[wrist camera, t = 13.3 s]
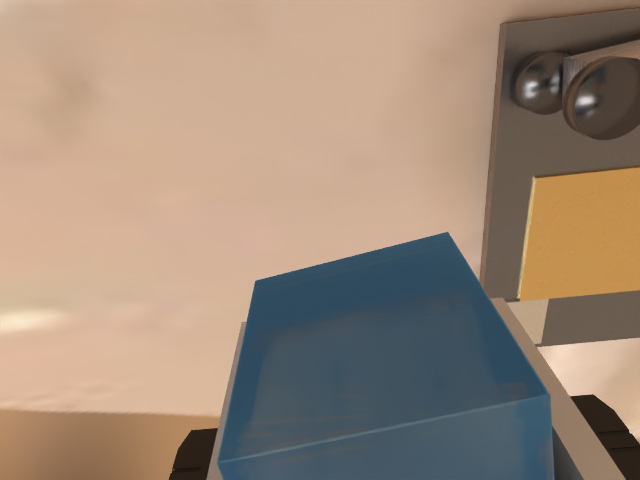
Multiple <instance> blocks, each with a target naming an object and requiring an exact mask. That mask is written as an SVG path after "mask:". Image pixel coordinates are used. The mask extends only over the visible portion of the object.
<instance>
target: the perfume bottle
mask: <svg viewBox="0 0 640 480" xmlns="http://www.w3.org/2000/svg"><path fill="white" fill-rule="evenodd" d="M217 465H218V468H219V470H220V473H221V476H222V479H223V480H554V459H553V438H552V417H551V396H550V394H549V392H548V391H547V389H546V387H545V386H544V384H543V383H542V381H541V379H540V378H539V376H538V375H537V373H536V371H535V370H534V368H533V367H532V365H531V363H530V362H529V360H528V359H527V357H526V355H525V354H524V352H523V351H522V349H521V347H520V346H519V344H518V343H517V341H516V340H515V338H514V336H513V335H512V333H511V332H510V330H509V328H508V327H507V325H506V324H505V322H504V320H503V319H502V317H501V316H500V314H499V312H498V311H497V309H496V308H495V306H494V304H493V303H492V301H491V300H490V298H489V297H488V295H487V293H486V292H485V290H484V289H483V287H482V285H481V284H480V282H479V281H478V279H477V277H476V276H475V274H474V273H473V271H472V269H471V268H470V266H469V265H468V263H467V261H466V260H465V258H464V257H463V255H462V254H461V252H460V250H459V249H458V247H457V246H456V244H455V242H454V241H453V239H452V238H451V236H450V234H449V233H448V232H446V233H442V234H438V235H434V236H430V237H426V238H422V239H418V240H414V241H410V242H406V243H402V244H398V245H394V246H391V247H387V248H383V249H379V250H375V251H371V252H367V253H363V254H359V255H355V256H351V257H347V258H343V259H339V260H336V261H332V262H328V263H324V264H320V265H316V266H312V267H308V268H304V269H300V270H296V271H292V272H288V273H284V274H281V275H277V276H273V277H269V278H265V279H261V280H257V281H255V285H254V290H253V294H252V299H251V304H250V309H249V313H248V318H247V323H246V328H245V332H244V337H243V342H242V347H241V351H240V356H239V361H238V366H237V370H236V375H235V380H234V385H233V389H232V394H231V399H230V404H229V408H228V413H227V418H226V422H225V427H224V432H223V437H222V441H221V446H220V451H219V456H218V460H217Z"/></svg>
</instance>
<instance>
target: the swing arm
mask: <svg viewBox="0 0 640 480" xmlns="http://www.w3.org/2000/svg"><path fill="white" fill-rule="evenodd" d="M562 111H563V116H564V119H565V121H566V123H567V124H568V126H569V127H570V128H571V129H573V130H574V131H576V132H578V133H580V134H583V135H585V136H588V137H590V138H593V139H596V140H612V139H616V138H619V137H621V136H624V135H625V134H627V133H629V132H631V131H632V130H634V129H635V128H636V127H637V126H638V125H639V124H640V40H635V41H631V42H627V43H623V44H619V45H615V46H610V47H606V48H602V49H598V50H594V51H590V52H585V53H581V54H577V55H573V56H569V57H565V58H564V61H563V91H562Z"/></svg>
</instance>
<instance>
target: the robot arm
mask: <svg viewBox="0 0 640 480" xmlns="http://www.w3.org/2000/svg"><path fill="white" fill-rule="evenodd" d="M490 300H491V301H492V303H493V304H494V306H495V308H496V309H497V311H498V312H499V314H500V316H501V317H502V319H503V320H504V322H505V324H506V325H507V327H508V328H509V330H510V332H511V333H512V335H513V336H514V338H515V340H516V341H517V343H518V344H519V346H520V347H521V349H522V351H523V352H524V354H525V355H526V357H527V359H528V360H529V362H530V363H531V365H532V367H533V368H534V370H535V371H536V373H537V375H538V376H539V378H540V379H541V381H542V383H543V384H544V386H545V387H546V389H547V391H548V392H549V394H550V396H551V417H552V438H553V459H554V480H640V444H639V442H638V441H637V440H636V439H635V437H634V436H633V435H632V434H630V433H629V429H628V428H627V427H626V425H625V424H624V423H623V422H622V420H621V419H620V418H619V416H618V415H617V414H616V412H615V411H614V410H613V409H612V408H610V407H609V406H608V405H606V404H605V403H604V402H602V401H601V400H600V399H598V398H597V397H596V396H595V395H593V394H592V395H581V396H569V395H568V393H567V392H566V390H565V389H564V387H563V386H562V384H561V383H560V381H559V380H558V378H557V377H556V375H555V374H554V373H553V371H552V370H551V368H550V367H549V365H548V364H547V362H546V361H545V359H544V358H543V356H542V355H541V353H540V352H539V350H538V349H537V347H536V346H535V344H534V343H533V341H532V340H531V338H530V337H529V336H528V334H527V333H526V331H525V330H524V328H523V327H522V325H521V324H520V322H519V321H518V319H517V318H516V316H515V315H514V313H513V312H512V310H511V309H510V307H509V306H508V304H507V303H506V301H505V300H504V299H503V297H502V298H492V299H490ZM246 323H247V322H242V324H241V329H240V333H239V338H238V342H237V346H236V351H235V355H234V360H233V364H232V369H231V373H230V377H229V382H228V386H227V391H226V395H225V400H224V404H223V408H222V413H221V417H220V422H219V426H218V428H213V429H202V430H191V432H190V433H189V434H188V436H187V437H186V439H185V440H184V441H183V443H182V444H181V446H180V447H179V449H178V451H177V455H176V458H175V461H174V464H173V468H172V473H171V474H170V477H169V480H223V479H222V476H221V473H220V470H219V468H218V465H217V460H218V456H219V451H220V446H221V441H222V437H223V432H224V427H225V422H226V418H227V413H228V408H229V404H230V399H231V394H232V389H233V385H234V380H235V375H236V370H237V366H238V361H239V356H240V351H241V347H242V342H243V337H244V332H245V328H246Z"/></svg>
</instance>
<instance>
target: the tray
mask: <svg viewBox="0 0 640 480" xmlns="http://www.w3.org/2000/svg"><path fill="white" fill-rule="evenodd" d="M635 40H640V8H633V9H624V10H616V11H607V12H599V13H590V14H582V15H573V16H565V17H556V18H548V19H539V20H530V21H522V22H513V23H505V24H500V36H499V48H498V60H497V73H496V85H495V97H494V110H493V122H492V134H491V147H490V159H489V171H488V184H487V196H486V208H485V221H484V233H483V245H482V258H481V270H480V284H481V285H482V287H483V289H484V290H485V292H486V293H487V295H488V297H489V298H490V299H492V298H502V297H503V299H504V300H505V301H506V303H507V304H508V306H509V307H510V309H511V310H512V312H513V313H514V315H515V316H516V318H517V319H518V321H519V322H520V324H521V325H522V327H523V328H524V330H525V331H526V333H527V334H528V336H529V337H530V338H531V340H532V341H533V343H534V344H535V346H536V347H542V346H553V345H564V344H574V343H585V342H596V341H607V340H618V339H629V338H639V337H640V124H639V125H638V126H637V127H636V128H635V129H634V130H632V131H631V132H629V133H627V134H625V135H624V136H621V137H619V138H616V139H612V140H596V139H593V138H590V137H588V136H585V135H583V134H580V133H578V132H576V131H574V130H573V129H571V128H570V127H569V126H568V124H567V123H566V121H565V119H564V116H563V111H562V91H563V61H564V58H565V57H569V56H573V55H577V54H581V53H585V52H590V51H594V50H598V49H602V48H606V47H610V46H615V45H619V44H623V43H627V42H631V41H635Z"/></svg>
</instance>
